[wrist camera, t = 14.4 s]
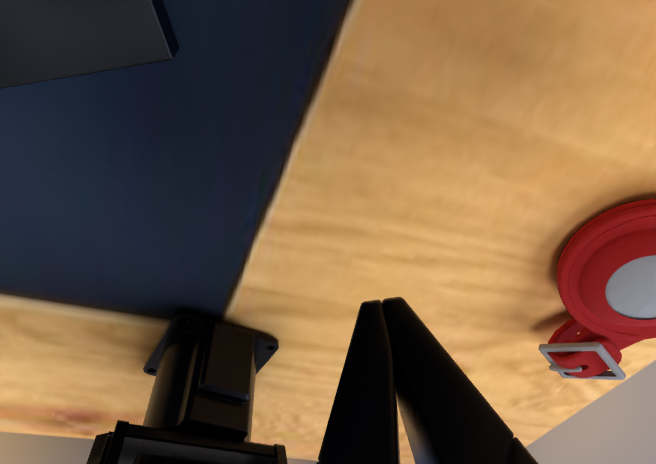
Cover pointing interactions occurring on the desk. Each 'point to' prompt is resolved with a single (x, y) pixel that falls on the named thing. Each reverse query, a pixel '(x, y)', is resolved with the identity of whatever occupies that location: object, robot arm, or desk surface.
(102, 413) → the desk surface
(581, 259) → the tracker holder
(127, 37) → the latch bracket
